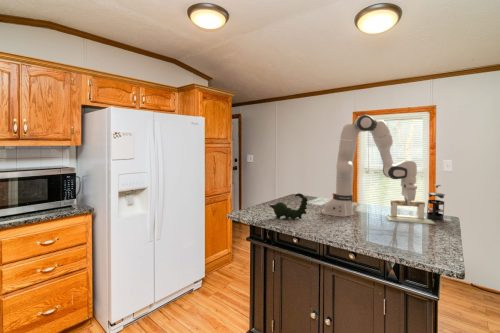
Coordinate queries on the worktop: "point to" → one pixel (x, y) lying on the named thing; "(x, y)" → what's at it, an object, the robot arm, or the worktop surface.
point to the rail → (404, 203)
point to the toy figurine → (283, 210)
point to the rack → (419, 215)
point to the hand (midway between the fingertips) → (407, 204)
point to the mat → (410, 220)
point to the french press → (435, 207)
